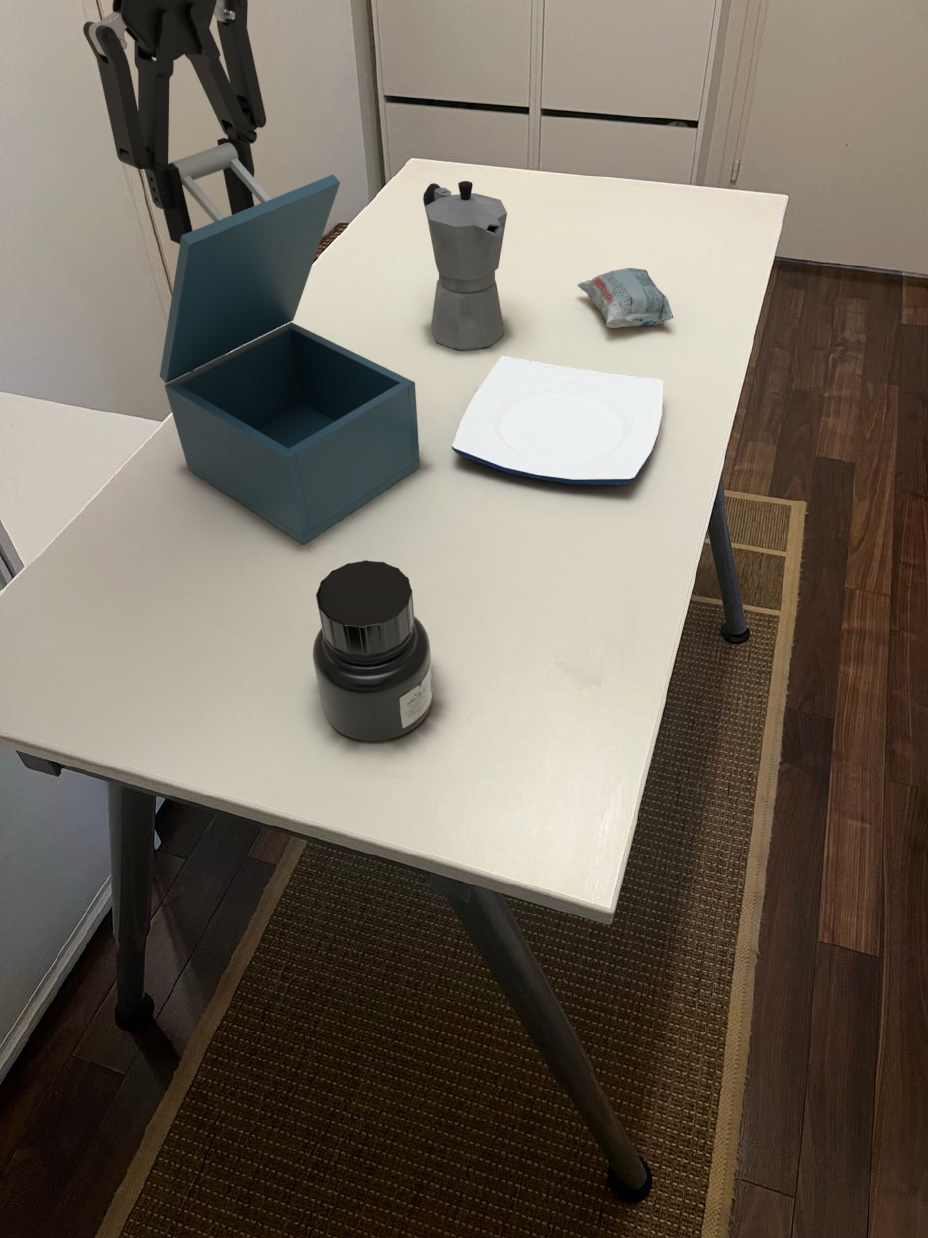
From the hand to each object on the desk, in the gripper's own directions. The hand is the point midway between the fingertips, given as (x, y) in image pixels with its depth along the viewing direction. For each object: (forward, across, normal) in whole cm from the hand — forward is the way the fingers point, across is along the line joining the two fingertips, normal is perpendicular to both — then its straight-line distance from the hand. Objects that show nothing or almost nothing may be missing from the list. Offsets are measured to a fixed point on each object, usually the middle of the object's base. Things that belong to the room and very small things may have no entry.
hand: (214, 229), depth 83 cm
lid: (+4, 0, -4) cm, 6 cm away
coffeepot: (+23, +32, 0) cm, 39 cm away
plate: (+23, +22, -23) cm, 40 cm away
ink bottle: (+23, -16, -35) cm, 45 cm away
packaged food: (+23, +47, -14) cm, 54 cm away
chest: (+23, 0, -7) cm, 24 cm away
